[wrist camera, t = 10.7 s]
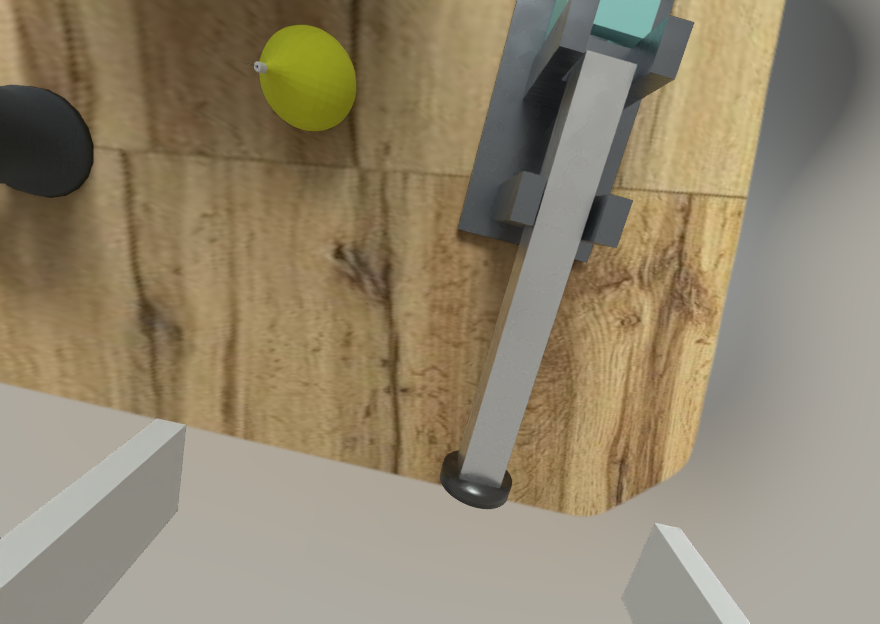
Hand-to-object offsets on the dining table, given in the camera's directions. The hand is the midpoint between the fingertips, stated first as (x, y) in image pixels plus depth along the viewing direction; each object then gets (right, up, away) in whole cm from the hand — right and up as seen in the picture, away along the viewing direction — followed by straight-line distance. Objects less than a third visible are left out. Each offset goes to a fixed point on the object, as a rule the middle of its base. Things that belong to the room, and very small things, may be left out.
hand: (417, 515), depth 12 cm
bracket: (+11, +22, +24) cm, 35 cm away
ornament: (-9, +24, +24) cm, 35 cm away
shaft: (+7, +7, +21) cm, 24 cm away
